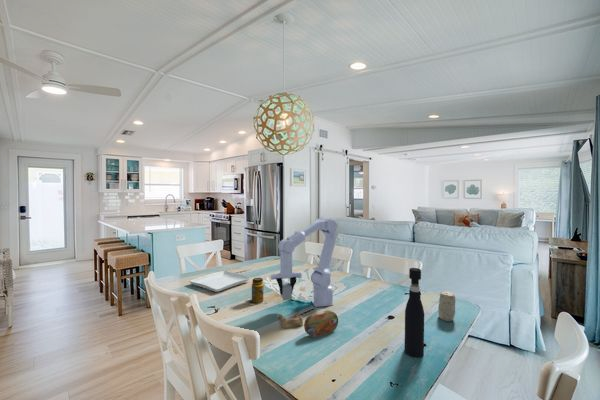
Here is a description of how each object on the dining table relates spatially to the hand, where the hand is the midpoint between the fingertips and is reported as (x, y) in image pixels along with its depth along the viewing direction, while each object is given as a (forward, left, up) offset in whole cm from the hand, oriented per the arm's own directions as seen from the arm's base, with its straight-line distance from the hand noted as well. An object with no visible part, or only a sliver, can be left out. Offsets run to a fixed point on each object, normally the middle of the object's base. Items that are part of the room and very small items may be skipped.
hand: (286, 293), depth 135 cm
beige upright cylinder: (-69, +24, -9) cm, 74 cm away
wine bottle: (-38, +44, -9) cm, 59 cm away
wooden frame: (0, +10, -9) cm, 13 cm away
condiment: (+13, -16, -9) cm, 23 cm away
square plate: (+32, -50, -10) cm, 60 cm away
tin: (-10, +23, -9) cm, 27 cm away
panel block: (0, 0, -2) cm, 2 cm away
